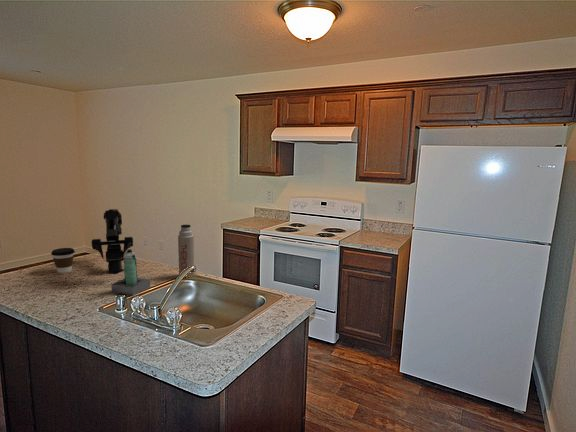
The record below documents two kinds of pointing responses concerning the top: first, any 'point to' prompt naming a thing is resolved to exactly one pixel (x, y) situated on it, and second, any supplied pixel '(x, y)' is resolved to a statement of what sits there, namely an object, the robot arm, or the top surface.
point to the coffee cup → (63, 259)
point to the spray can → (130, 267)
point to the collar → (130, 287)
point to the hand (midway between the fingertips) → (113, 257)
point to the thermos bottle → (186, 248)
